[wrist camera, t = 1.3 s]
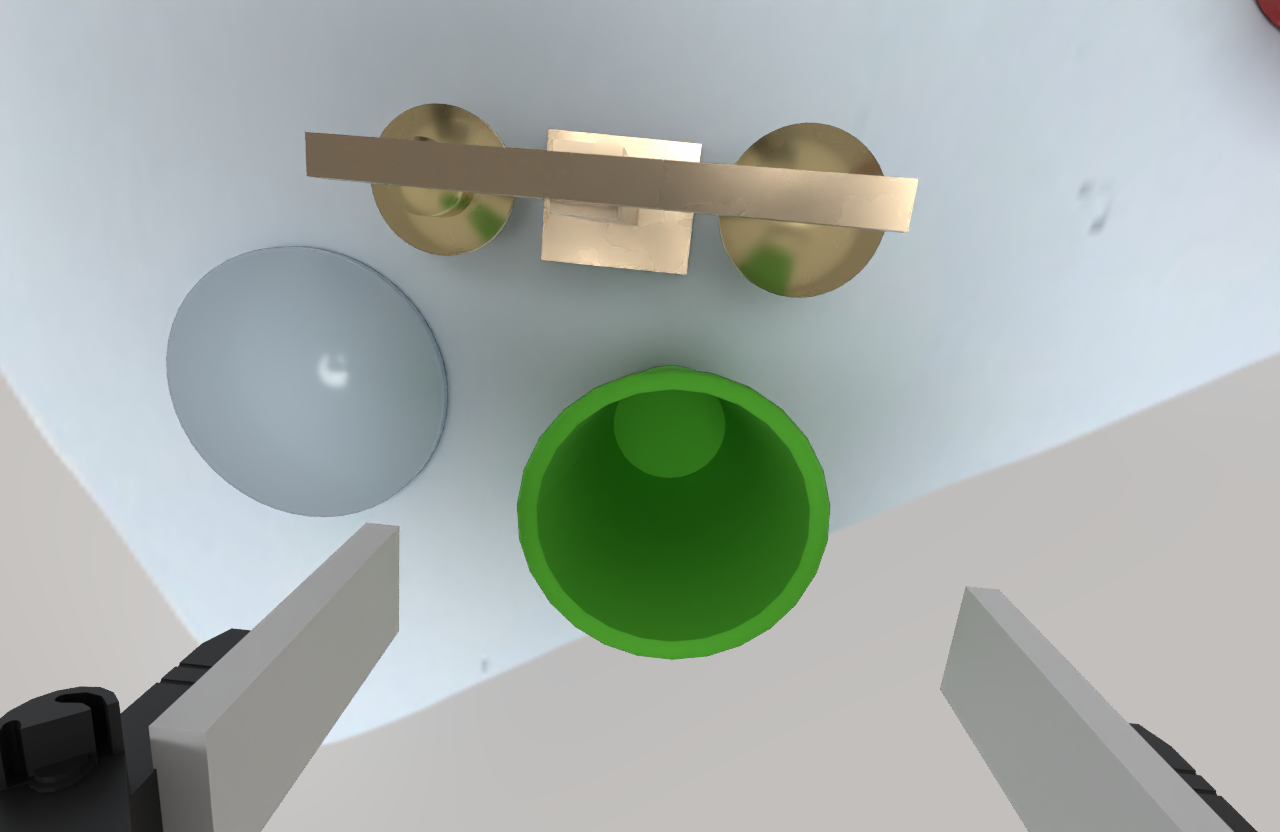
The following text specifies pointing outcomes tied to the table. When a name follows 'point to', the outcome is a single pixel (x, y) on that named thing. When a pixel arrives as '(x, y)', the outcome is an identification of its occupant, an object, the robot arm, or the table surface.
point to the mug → (1271, 10)
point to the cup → (673, 513)
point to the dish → (306, 380)
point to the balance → (630, 195)
